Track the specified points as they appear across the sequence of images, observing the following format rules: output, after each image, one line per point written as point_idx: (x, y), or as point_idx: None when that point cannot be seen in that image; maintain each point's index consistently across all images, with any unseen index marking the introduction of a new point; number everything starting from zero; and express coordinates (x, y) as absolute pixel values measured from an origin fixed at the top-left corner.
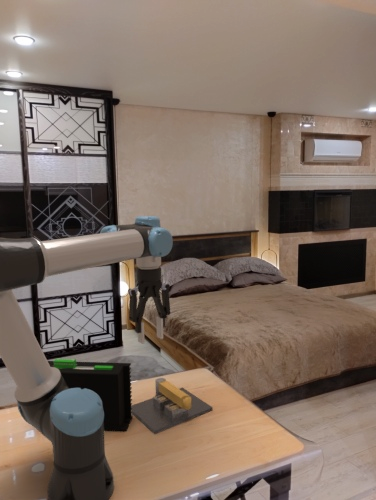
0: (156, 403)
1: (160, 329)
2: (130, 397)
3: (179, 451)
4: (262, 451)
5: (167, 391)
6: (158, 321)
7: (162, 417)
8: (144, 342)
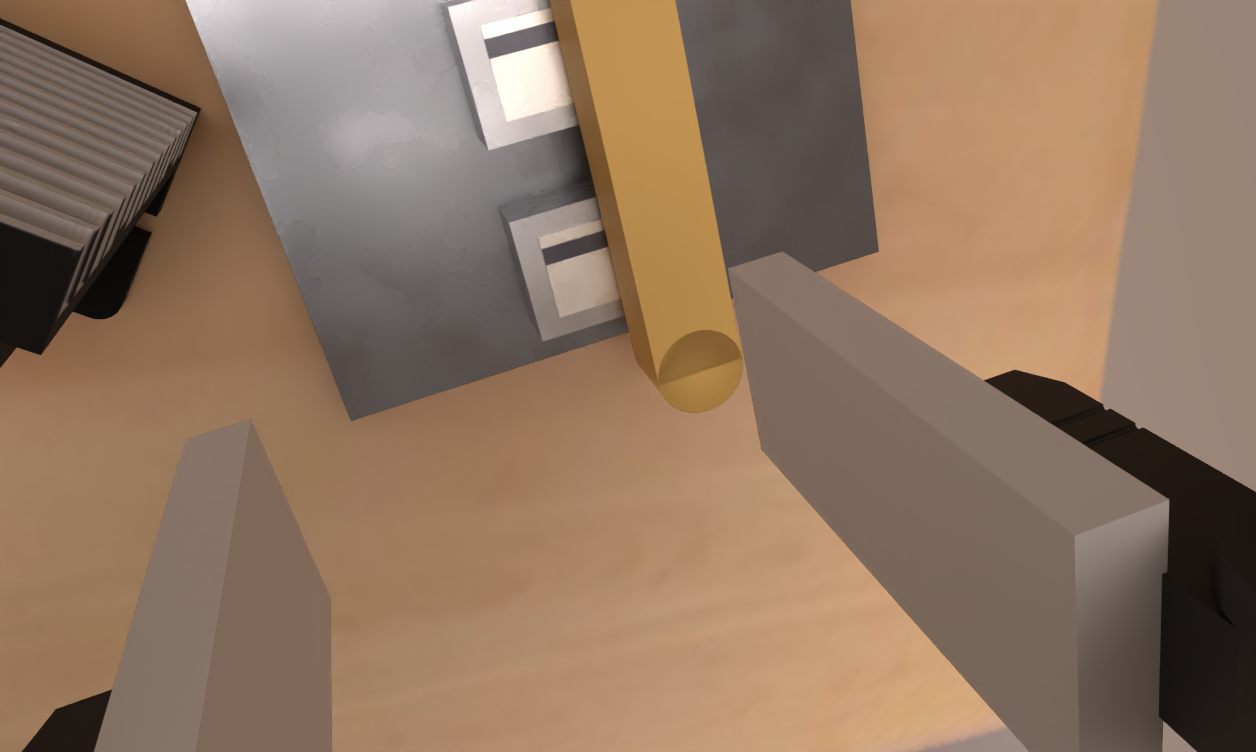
0: (462, 73)
1: (865, 543)
2: (144, 208)
3: (464, 619)
4: (872, 698)
5: (594, 131)
6: (986, 581)
7: (461, 263)
8: (330, 611)
